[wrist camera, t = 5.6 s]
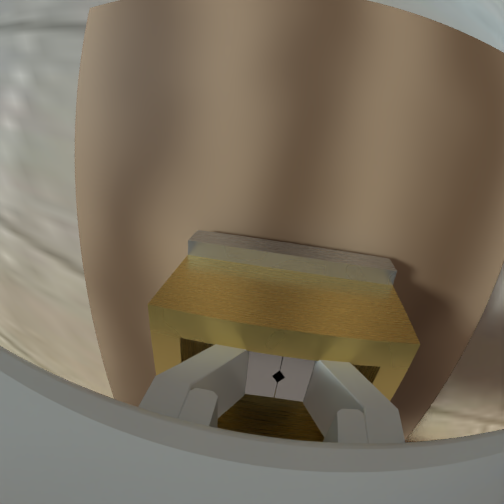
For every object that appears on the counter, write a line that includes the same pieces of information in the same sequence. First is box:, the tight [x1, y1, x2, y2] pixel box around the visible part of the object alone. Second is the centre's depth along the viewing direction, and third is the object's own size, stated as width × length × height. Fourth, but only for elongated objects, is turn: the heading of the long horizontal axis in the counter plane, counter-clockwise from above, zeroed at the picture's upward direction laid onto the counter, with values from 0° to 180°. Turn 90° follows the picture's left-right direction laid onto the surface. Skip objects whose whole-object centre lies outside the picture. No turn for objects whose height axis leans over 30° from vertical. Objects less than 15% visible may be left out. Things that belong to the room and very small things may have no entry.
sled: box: [148, 230, 420, 442], centre depth 15 cm, size 9×32×4 cm, turn 175°
